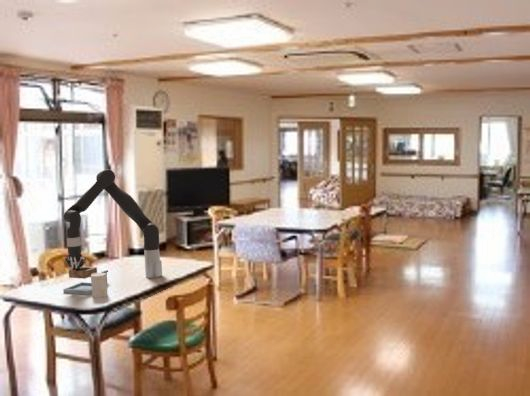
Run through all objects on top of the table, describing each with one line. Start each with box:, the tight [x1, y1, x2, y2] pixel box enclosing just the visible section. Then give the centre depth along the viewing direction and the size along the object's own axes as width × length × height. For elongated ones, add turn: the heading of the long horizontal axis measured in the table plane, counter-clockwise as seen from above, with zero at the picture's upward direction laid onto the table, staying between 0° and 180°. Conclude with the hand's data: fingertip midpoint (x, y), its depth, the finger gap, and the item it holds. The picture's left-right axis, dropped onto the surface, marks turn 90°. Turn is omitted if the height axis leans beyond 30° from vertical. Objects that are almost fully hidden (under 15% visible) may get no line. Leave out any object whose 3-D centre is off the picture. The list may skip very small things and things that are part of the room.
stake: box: [100, 269, 109, 281], centre depth 353 cm, size 2×5×8 cm, turn 159°
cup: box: [90, 272, 109, 299], centre depth 325 cm, size 8×8×12 cm
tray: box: [63, 281, 109, 296], centre depth 340 cm, size 18×16×2 cm
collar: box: [68, 266, 98, 279], centre depth 339 cm, size 13×11×4 cm
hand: (76, 274), depth 341 cm, fingers closed on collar, 1 cm apart
